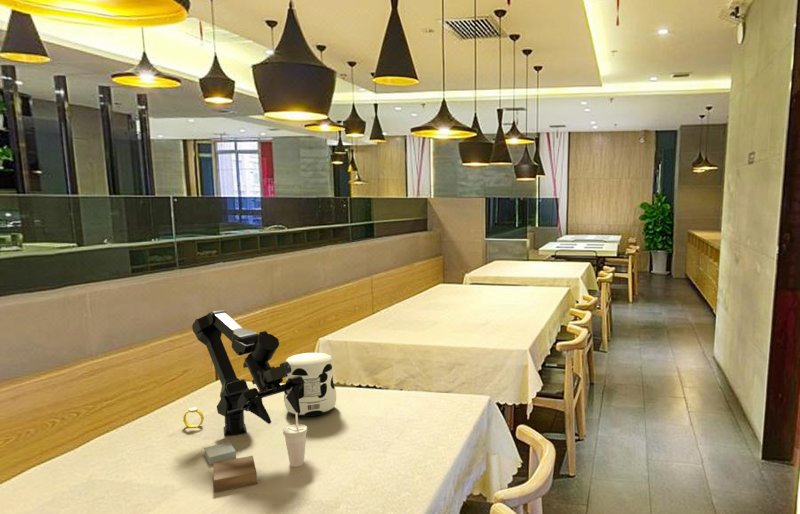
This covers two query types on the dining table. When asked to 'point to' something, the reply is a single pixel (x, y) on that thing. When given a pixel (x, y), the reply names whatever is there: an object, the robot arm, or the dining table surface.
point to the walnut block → (234, 473)
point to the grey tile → (220, 452)
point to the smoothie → (295, 442)
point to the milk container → (313, 383)
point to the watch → (193, 411)
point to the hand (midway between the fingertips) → (285, 418)
